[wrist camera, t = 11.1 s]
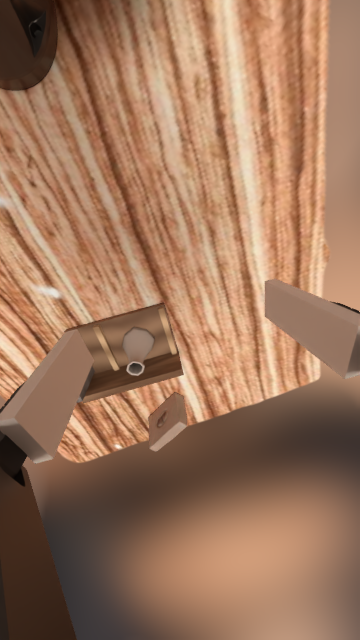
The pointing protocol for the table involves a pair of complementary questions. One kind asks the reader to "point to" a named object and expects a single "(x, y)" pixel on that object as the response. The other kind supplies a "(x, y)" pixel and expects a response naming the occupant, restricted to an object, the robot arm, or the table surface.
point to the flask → (137, 348)
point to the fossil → (167, 421)
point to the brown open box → (113, 359)
